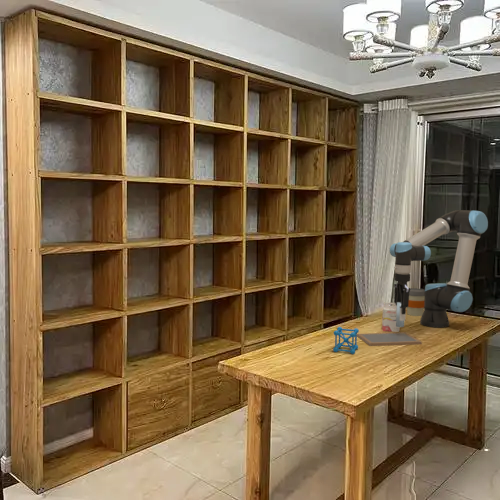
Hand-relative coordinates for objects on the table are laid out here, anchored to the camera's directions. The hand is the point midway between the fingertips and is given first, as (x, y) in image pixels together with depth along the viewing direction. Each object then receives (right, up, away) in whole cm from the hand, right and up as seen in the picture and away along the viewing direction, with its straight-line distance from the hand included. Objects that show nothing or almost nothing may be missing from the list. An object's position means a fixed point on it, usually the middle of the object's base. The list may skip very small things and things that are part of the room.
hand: (400, 319), depth 266 cm
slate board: (-7, -10, -4) cm, 13 cm away
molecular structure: (-32, -12, -23) cm, 41 cm away
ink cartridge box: (-1, -8, +15) cm, 17 cm away
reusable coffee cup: (+25, -4, +55) cm, 60 cm away
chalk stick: (0, -4, 0) cm, 4 cm away
